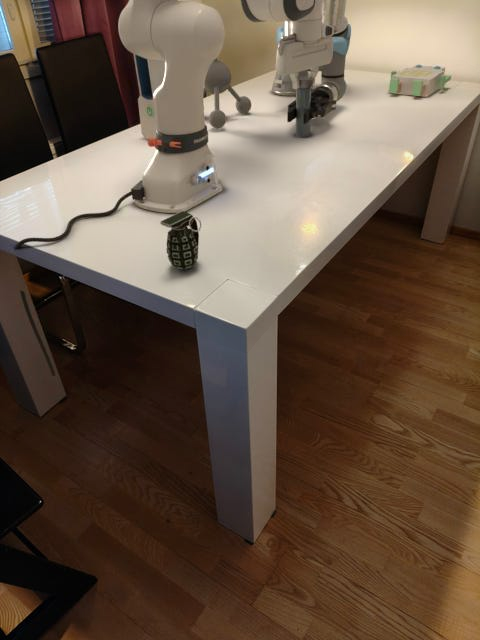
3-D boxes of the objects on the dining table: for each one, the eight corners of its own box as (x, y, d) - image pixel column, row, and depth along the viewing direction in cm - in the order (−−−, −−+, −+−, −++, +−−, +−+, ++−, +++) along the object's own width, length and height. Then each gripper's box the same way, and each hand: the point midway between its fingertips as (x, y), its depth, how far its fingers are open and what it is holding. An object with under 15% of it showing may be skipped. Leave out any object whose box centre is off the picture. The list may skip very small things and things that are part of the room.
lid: (305, 83, 143) (305, 75, 142) (316, 86, 140) (316, 78, 138) (291, 86, 141) (291, 78, 140) (302, 89, 138) (302, 81, 136)
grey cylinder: (312, 134, 149) (314, 79, 139) (303, 138, 147) (305, 82, 137) (301, 131, 151) (303, 78, 142) (292, 135, 149) (293, 80, 140)
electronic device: (141, 137, 154) (123, 28, 136) (159, 131, 158) (144, 24, 140) (166, 145, 147) (151, 30, 129) (185, 138, 151) (172, 26, 133)
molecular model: (271, 118, 163) (270, 14, 145) (215, 133, 154) (207, 23, 136) (232, 105, 179) (227, 9, 161) (180, 117, 170) (168, 17, 151)
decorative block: (405, 62, 193) (457, 66, 183) (403, 80, 197) (453, 84, 187) (379, 75, 177) (434, 80, 167) (377, 94, 181) (431, 100, 171)
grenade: (182, 278, 88) (175, 228, 82) (162, 268, 91) (153, 219, 85) (208, 263, 92) (203, 214, 85) (187, 253, 95) (181, 205, 89)
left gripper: (287, 37, 125) (287, 95, 133) (338, 27, 135) (334, 81, 144) (270, 36, 129) (270, 92, 137) (320, 25, 139) (318, 78, 148)
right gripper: (347, 112, 157) (324, 134, 140) (297, 108, 163) (269, 128, 147) (349, 87, 152) (326, 106, 136) (297, 83, 159) (269, 102, 142)
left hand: (303, 86), depth 141 cm, fingers closed on lid, 5 cm apart
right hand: (296, 118), depth 141 cm, fingers closed on grey cylinder, 4 cm apart
